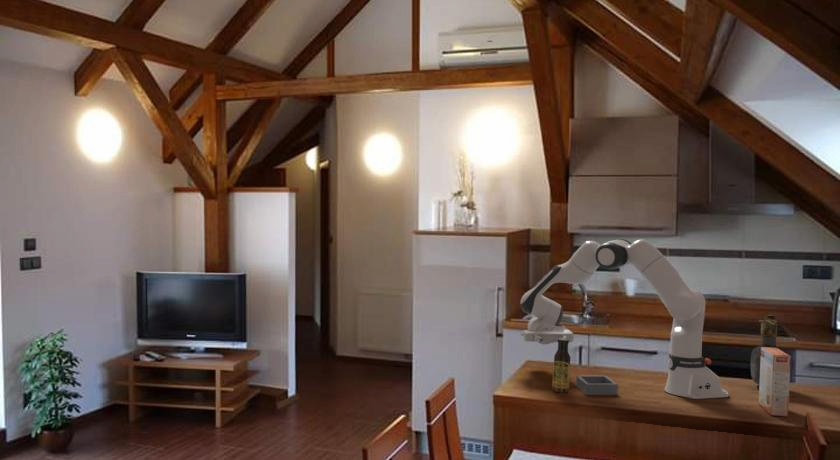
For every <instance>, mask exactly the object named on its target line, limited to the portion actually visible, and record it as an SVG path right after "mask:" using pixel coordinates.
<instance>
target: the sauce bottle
mask: <svg viewBox="0 0 840 460" xmlns="http://www.w3.org/2000/svg"><path fill="white" fill-rule="evenodd" d="M557 343H558V344H557V350H556V352H555V354H554V358H553V364H552V366H553V368H552V383H551V387H552V388H551V389H552V391H553V392H555V393H561V394H563V393H565V394H566V393H567V392H569V388H570V377H571V376H570V375H571V374H570V373H571V355H570V353H569V343H570V342H569V339H565V338H559V339H558V342H557Z"/></svg>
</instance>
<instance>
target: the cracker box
mask: <svg viewBox="0 0 840 460" xmlns="http://www.w3.org/2000/svg"><path fill="white" fill-rule="evenodd" d="M780 349H781V348H779V349H778V347H777V348H769V347H761V360H760V385H759V384H758V385H759V390H758V405H759V406H760V407H761V408H762V409H763V410H765V412H767V413H768V414H769V416H774V417H784V418H785V417H789V401H790V380H791V363H792V362H791V357H792V356H791V355H789V354H788V353H786V352H784V351H783V350H782V349H781V350H782V351H781V350H780Z"/></svg>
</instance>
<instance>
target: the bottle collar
mask: <svg viewBox="0 0 840 460" xmlns="http://www.w3.org/2000/svg"><path fill="white" fill-rule="evenodd" d="M575 377H576V379H575V386H576V388H578V389H579V390H580V391H581V392H582V393H583V394H584V395H586V396H618V395H619V384H618V383H617V382H615V381H614V380H613V379H612V378H610V377H609V376H607V375H576V376H575Z"/></svg>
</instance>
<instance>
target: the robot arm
mask: <svg viewBox="0 0 840 460" xmlns="http://www.w3.org/2000/svg"><path fill="white" fill-rule="evenodd" d="M626 265H632V266H633V267H634V268H635V269H636V270H637V271H638V272H639V273H640V275H641V276H642V277H643V278H644V279H645V281H647V283H648V284H649V285H650V287H652V289H653V290H654V291H655V293H656V294H657V296H658V297H659V299H660V300H661V302H662V304H663V305H664V306H665V308H666V309H667V311H668V313H669V314H670V316H671V317H672V318H673V319H672V324H671V325H672V326H671V331H670V342H669V343H670V345H669V346H670V348H669V349H670V350H669V354H668V361H667V362H668V374H667V380H666V384H665V387H664V391H665V392H666V393H669V394H671V395H674V396H678V397H679V396H680V397H685V398H688V399H694V400H703V399H717V398H728V397H729V396H730V395H729V392H728V391H727V390H726V389H723V383H722V380H721V378H720V377H719V376H718V375H717V374H716V373H715V372H714V371H712V370H711V369H710V368H709V367H708V366H706V364H707V365H711V364H712V360H711V358H708V357H704V356H702V351H703V349H702V347H703V346H702V345H703V331H704V323H705V315H706V298H705V296H704V294H703V293H702V292H701V291H699V290H698V289H695V288H692V287H688V285H687V284H686V282H685V281H684V279H683V278H682V277H681V275H680V273H679V271H678V270H677V269H676V268H675V267H674V265H673V264H672V263H671V262H670V261H669V260H668V258H666V257H665V255H664V254H663V253H662V252H661V251H660V250H658V248H657V247H655V246H654V245H653V244H652V243H651V242H649V241H648V240H646V239H645V238H644V239H643V238H642V239H637V240H635V241H633V242H631V241H629V240H626V239H624V238H623V239H620V238H619V239H614V240H613V239H612V240H609V241H607V242H604V243H602V244H601V243H599V242H597V241H595V240H586V241H584V243H582V244H581V245H580V246H579V248H577V250H576V251H575V252H574V253H573V254H572V256H571V257H570V258H569V259H568V261H566V262H564V263H561V264H557V265H556V264H555V266H553V267H552V268H551V269H549V271H547V272H546V274H544V275H543V276H542V277H541V279H539V280H538V282H536V283H535V284H534V285H533V286H532V287H531V288H530V289H529V290H527V291H526V292H525V293H524V294H523V295H522V296H521V299H520V301H519V305H520V306H519V307H520V308H521V310H522V312H523V313H525V314H528V315H531V316H533V318H531V319H530V320H529V321H528V323H527V329H523V332H520V333H519V334H520V336H522V338H523V341H525V342H531V343H532V342H534V343H535V342H537V343H539V344H541V345H548V344H553V343H554V344H555V343H558V339H559V338H565V339H569V343H573V342H574V332H572V331H571V330H570V329H569V328H566V326H565V325H560V323H561V322H562V320H563V317H564V312H563V306H562V305H561V304H560V303H558V302H556V301H555V300H552V299H550V298H548V297H546V296H544V295H543V294H544V293H545V292H546V291H547V290H548V289H549V288H550V287H551V286H552V285H553V284H556V283H557V284H558V283H562V284H563V283H564V284H571V285H581V284H584V283H586V282H588V281H589V279H590V278H591V277H593V274H594V273H595V272H596V271H597V269H599V267H601V268H603V269H605V270H615V269H617V268H618V269H619V268H623V267H624V266H626Z"/></svg>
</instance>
